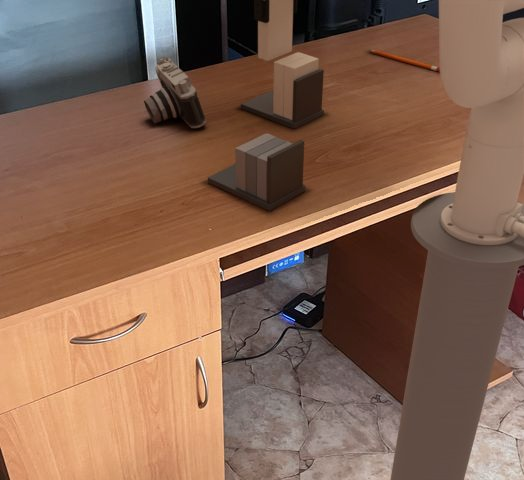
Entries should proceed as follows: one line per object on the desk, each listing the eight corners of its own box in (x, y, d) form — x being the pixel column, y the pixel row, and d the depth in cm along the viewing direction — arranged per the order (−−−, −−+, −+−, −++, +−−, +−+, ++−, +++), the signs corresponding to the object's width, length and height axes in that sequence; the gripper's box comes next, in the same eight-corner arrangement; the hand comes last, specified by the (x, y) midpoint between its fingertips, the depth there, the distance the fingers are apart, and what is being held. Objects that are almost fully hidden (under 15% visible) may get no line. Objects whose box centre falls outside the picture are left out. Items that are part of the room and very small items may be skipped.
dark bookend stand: (323, 114, 154) (327, 58, 147) (294, 129, 149) (295, 71, 142) (270, 95, 162) (271, 41, 154) (240, 108, 156) (239, 52, 149)
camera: (142, 113, 158) (124, 67, 151) (180, 95, 159) (163, 49, 152) (169, 144, 147) (151, 97, 140) (209, 124, 149) (193, 76, 142)
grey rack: (305, 191, 131) (307, 140, 125) (269, 211, 126) (269, 159, 120) (244, 164, 138) (243, 115, 132) (207, 182, 133) (205, 132, 127)
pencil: (438, 72, 172) (439, 68, 171) (367, 52, 181) (367, 48, 180) (440, 71, 172) (441, 67, 172) (369, 51, 181) (369, 47, 181)
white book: (292, 51, 151) (293, -15, 143) (267, 61, 147) (268, -7, 139) (282, 48, 152) (283, -18, 144) (257, 57, 148) (257, -10, 140)
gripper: (259, -81, 127) (259, 32, 138) (326, -97, 136) (321, 9, 148) (226, -88, 130) (228, 23, 142) (294, -103, 140) (291, 1, 152)
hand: (275, 15), depth 145 cm, fingers closed on white book, 7 cm apart
